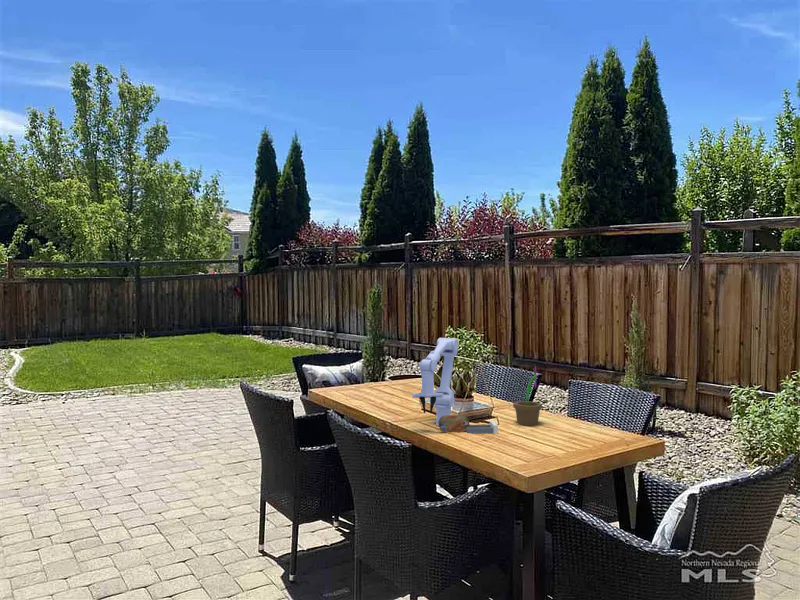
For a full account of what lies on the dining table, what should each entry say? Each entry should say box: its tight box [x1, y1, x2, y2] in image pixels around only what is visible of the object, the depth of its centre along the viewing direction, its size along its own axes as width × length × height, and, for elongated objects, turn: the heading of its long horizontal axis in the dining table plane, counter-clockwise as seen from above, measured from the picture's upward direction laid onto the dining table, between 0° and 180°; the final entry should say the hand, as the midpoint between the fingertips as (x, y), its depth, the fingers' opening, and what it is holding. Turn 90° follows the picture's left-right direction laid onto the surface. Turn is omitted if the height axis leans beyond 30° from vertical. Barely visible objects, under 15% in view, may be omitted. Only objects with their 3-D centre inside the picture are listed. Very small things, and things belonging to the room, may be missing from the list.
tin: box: [438, 414, 470, 434], centre depth 283 cm, size 15×3×8 cm, turn 101°
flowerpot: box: [512, 365, 543, 427], centre depth 300 cm, size 14×14×30 cm
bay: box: [466, 420, 499, 435], centre depth 284 cm, size 10×14×4 cm
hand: (427, 412), depth 283 cm, fingers closed
